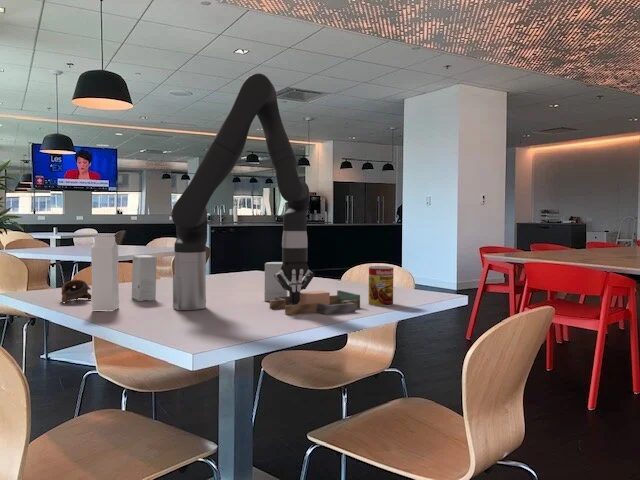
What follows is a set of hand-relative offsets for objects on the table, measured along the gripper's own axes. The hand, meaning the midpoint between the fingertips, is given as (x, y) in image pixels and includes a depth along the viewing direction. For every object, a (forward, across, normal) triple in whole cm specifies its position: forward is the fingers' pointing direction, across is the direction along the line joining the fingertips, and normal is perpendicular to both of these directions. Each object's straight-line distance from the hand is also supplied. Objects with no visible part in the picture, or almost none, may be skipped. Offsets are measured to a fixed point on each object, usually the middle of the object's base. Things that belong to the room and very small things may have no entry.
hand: (294, 304), depth 155 cm
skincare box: (+2, -36, +43) cm, 56 cm away
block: (+2, +6, 0) cm, 7 cm away
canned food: (+2, +30, -3) cm, 30 cm away
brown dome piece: (+2, -57, +48) cm, 75 cm away
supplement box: (+2, +3, +21) cm, 22 cm away
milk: (+2, -50, +27) cm, 57 cm away
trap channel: (+2, +7, 0) cm, 7 cm away
